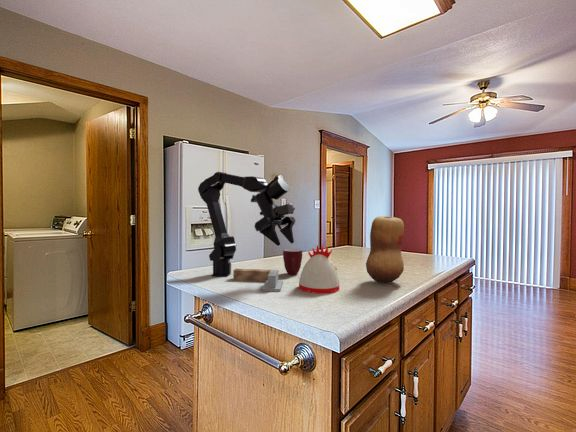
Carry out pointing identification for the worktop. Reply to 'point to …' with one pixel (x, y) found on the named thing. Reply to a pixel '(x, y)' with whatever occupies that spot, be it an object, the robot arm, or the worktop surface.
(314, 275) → the kitchen timer
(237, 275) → the walnut bar
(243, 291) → the worktop surface
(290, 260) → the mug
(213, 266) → the robot arm
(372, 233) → the butternut squash
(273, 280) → the ridge block
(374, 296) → the worktop surface
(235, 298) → the worktop surface
